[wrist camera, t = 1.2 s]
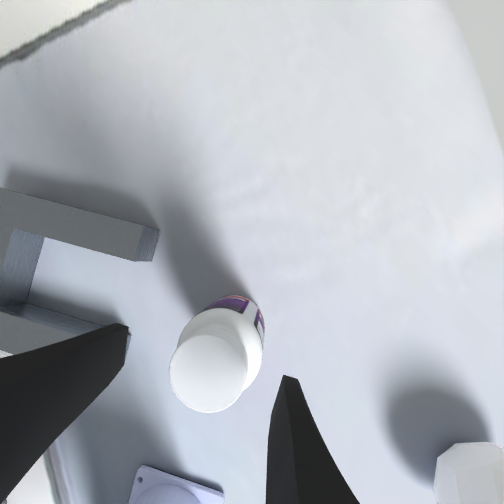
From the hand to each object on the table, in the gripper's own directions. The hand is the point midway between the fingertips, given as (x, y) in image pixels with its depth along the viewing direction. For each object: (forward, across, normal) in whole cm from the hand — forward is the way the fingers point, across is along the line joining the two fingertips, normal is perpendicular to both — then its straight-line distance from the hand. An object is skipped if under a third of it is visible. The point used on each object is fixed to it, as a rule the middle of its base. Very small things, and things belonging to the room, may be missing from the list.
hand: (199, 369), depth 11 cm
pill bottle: (+11, 0, +4) cm, 12 cm away
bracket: (+11, +16, +4) cm, 20 cm away
